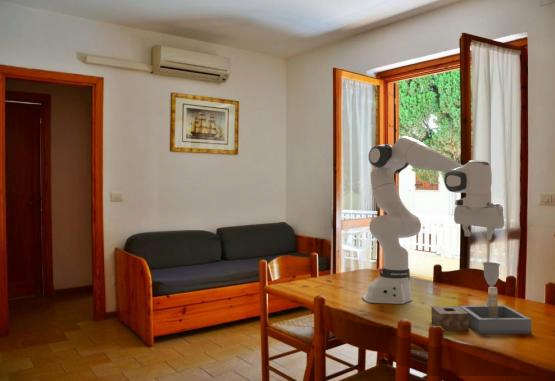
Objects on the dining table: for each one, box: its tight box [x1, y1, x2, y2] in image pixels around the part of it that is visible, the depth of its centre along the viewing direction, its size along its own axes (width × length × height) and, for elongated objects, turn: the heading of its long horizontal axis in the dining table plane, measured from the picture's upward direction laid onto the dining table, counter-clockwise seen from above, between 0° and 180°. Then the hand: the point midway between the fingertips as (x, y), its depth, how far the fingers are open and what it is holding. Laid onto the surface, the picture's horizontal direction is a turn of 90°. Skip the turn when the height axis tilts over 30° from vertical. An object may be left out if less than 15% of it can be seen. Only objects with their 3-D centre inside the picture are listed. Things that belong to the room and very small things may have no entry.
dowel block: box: [430, 305, 470, 331], centre depth 162 cm, size 10×10×6 cm
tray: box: [458, 304, 533, 335], centre depth 162 cm, size 18×18×5 cm
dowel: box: [487, 286, 499, 318], centre depth 162 cm, size 3×3×13 cm
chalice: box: [482, 261, 501, 306], centre depth 189 cm, size 7×7×18 cm
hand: (477, 237), depth 170 cm, fingers open, 8 cm apart
